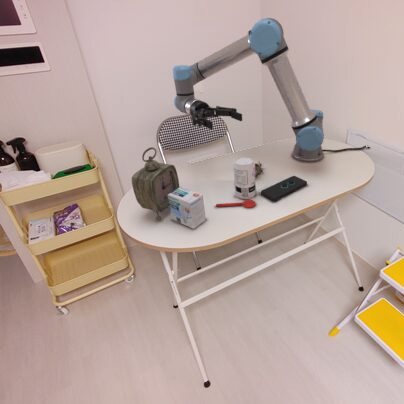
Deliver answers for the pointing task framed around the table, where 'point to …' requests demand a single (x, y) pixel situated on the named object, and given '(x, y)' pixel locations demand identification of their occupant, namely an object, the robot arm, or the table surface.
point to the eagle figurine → (259, 169)
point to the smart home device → (283, 188)
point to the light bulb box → (187, 207)
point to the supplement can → (244, 178)
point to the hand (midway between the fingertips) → (227, 121)
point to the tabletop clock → (154, 184)
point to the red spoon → (246, 204)
